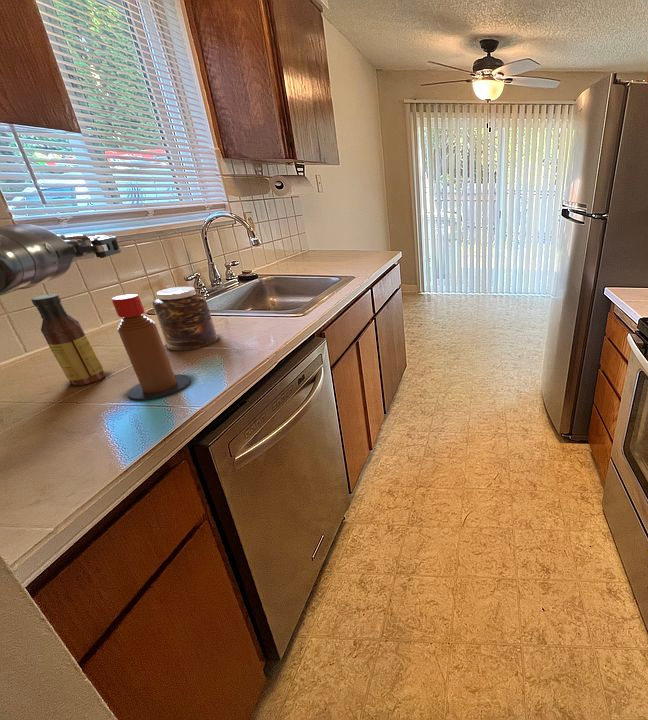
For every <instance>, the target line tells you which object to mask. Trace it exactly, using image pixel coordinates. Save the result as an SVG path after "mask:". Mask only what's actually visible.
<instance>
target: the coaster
mask: <svg viewBox="0 0 648 720" xmlns="http://www.w3.org/2000/svg"><path fill="white" fill-rule="evenodd" d="M174 375H175V378H176V381H177V384H176V385H175V386H174V387H172V388H170V389H167V390H164V391H161V392H156V393H145V392H143V390H142V387H141V385H140V383H139V384H137V385H135V386H133V387H132V388H131V389H130V390H129V391H128V393H127V394H128V398H129V399H130V400H133V401H153V400H159V399H161V398H166V397H169V396H171V395H174V394H177V393H178V392H181V391H182V390H185V389H186V388H188V386H190V385H191V383H192V379H191V377H190V376H188V375H185V374H174Z"/></svg>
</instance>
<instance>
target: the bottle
mask: <svg viewBox="0 0 648 720" xmlns="http://www.w3.org/2000/svg"><path fill="white" fill-rule="evenodd" d="M117 332H118V334H119V337H120V339H121V342H122V344H123V346H124V349H125V352H126V354H127V356H128V359H129V361H130V363H131V366H132V368H133V371H134V373H135V376H136V378H137V380H138V382H139V384H140V385H141V387H142V390H143V392H145V393H156V392H161V391H164V390H167V389H170V388H172V387H174V386H175V385H176V384H177V381H176V378H175V375H176V374H175V373H174V370H173V367H172V365H171V362H170V359H169V357H168V353H167V351H166V349H165V346H164V343H163V340H162V337H161V335H160V333H159V330H158V328H157V324H156V322H155V321H154V320H153V319H152V318H150V317H147V316H146V315H144V313H143V314H141V315H138V316H133V317H121V320H120V322H119V323H118V325H117Z"/></svg>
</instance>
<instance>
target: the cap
mask: <svg viewBox="0 0 648 720" xmlns="http://www.w3.org/2000/svg"><path fill="white" fill-rule="evenodd" d="M111 301H112V304H113V307H114V309H115V312H116V314H117V316H118V317H119V318H123V317H133V316H138V315H141V314H143V315H144V314H145V308H144V306H143V303H142V301H141V298H140V297H139V294H136V293H129V294H121V295H116V296H113V297H111Z"/></svg>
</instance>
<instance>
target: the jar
mask: <svg viewBox="0 0 648 720" xmlns="http://www.w3.org/2000/svg"><path fill="white" fill-rule="evenodd" d="M156 296H157V298H156V299H155V300H153V301H152V307H153V308H152V309H153V311H154V314H155V317H156V320H157V322H158V325H159V328H160V331H161V334H162V337H163V339H164V342H165V345H166V347H167V349H169V350H171V351H190V350H191V351H192V350H195V349H196V350H197V349H200V348H204V347H207V346H209V345H212V344H214V343H216V342H217V341H218V339H219V337H218V334H217V331H216V328H215V324H214V321H213V318H212V314H211V312H210V309H209V305H208V303H207V300H206V298H205V297H206V296H204V294H201V293H198V292H197V291H196V288H195V287H193V286H176V287H169V288H164V289H160V290H157V291H156Z"/></svg>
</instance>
